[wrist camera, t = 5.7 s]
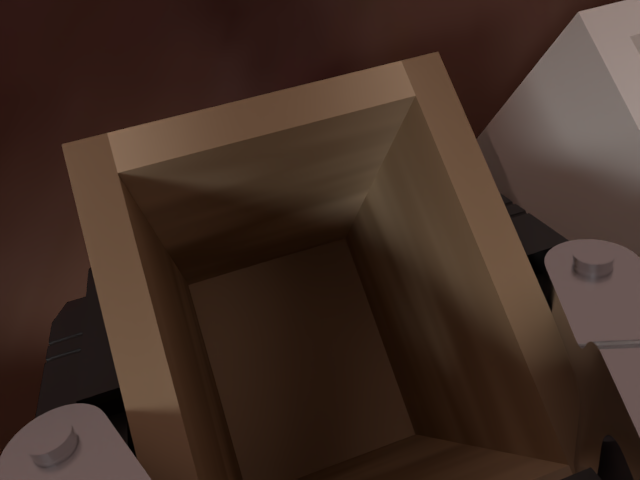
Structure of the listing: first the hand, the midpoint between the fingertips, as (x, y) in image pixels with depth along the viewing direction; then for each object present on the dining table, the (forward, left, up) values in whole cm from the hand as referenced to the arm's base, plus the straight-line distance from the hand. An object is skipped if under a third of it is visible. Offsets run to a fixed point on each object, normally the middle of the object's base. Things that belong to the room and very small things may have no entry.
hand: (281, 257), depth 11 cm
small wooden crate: (0, -2, -4) cm, 5 cm away
